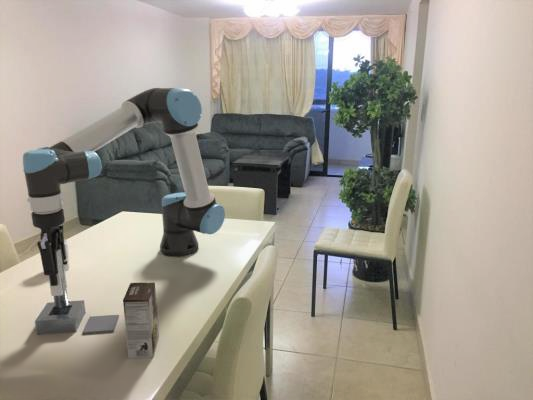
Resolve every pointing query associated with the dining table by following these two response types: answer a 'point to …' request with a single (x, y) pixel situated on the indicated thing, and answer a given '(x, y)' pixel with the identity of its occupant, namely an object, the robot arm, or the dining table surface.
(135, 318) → the coffee box
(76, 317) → the block
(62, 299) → the grey long rod
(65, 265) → the white cup
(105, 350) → the dining table surface
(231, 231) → the dining table surface
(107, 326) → the mat
